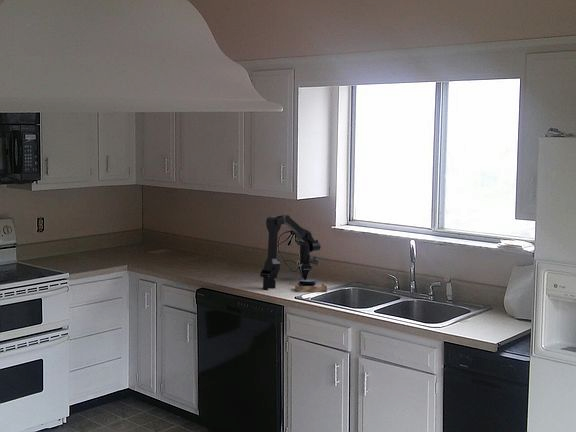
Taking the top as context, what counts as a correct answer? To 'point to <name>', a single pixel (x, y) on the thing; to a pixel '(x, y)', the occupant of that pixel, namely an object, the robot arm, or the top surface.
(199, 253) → the top surface
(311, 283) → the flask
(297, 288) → the frame
